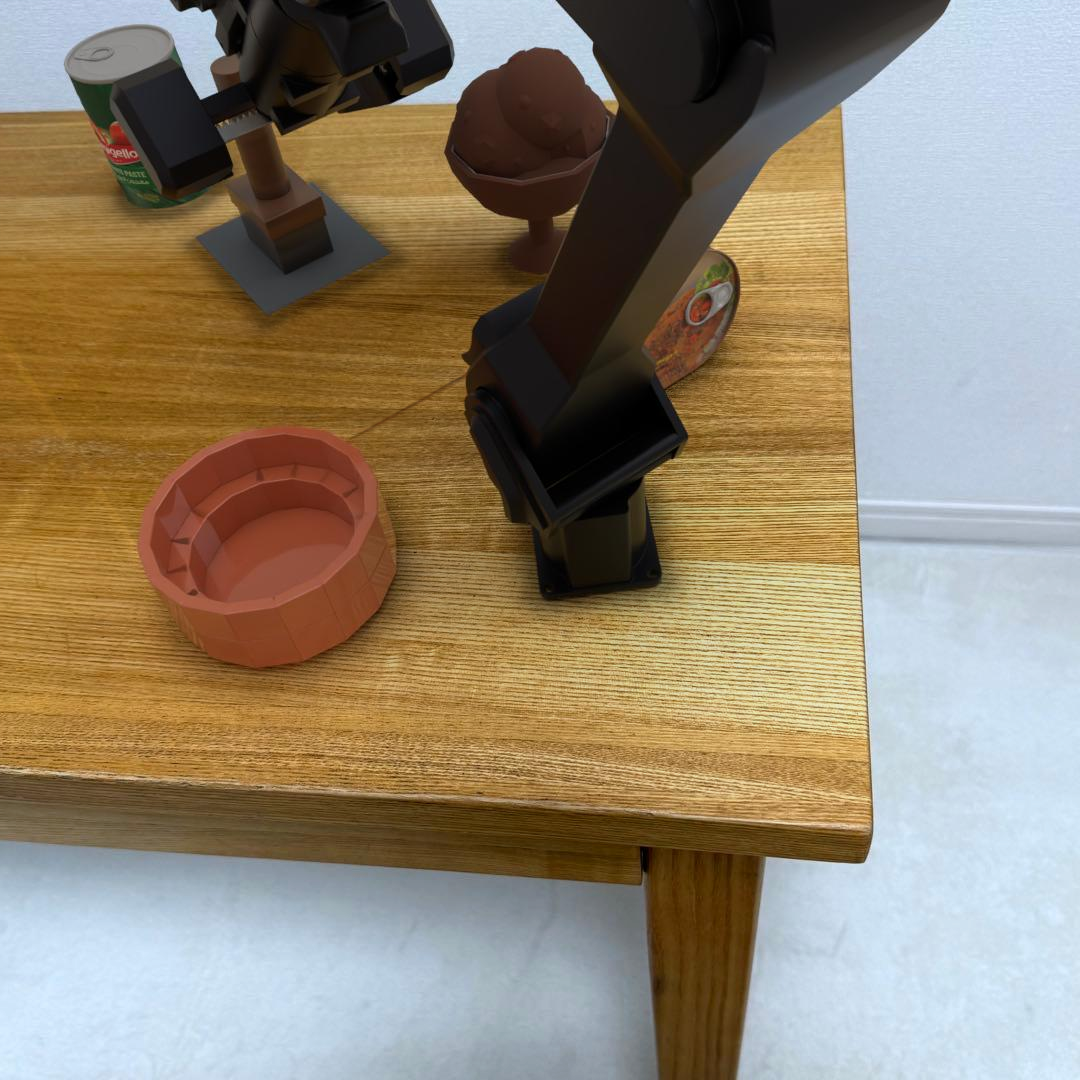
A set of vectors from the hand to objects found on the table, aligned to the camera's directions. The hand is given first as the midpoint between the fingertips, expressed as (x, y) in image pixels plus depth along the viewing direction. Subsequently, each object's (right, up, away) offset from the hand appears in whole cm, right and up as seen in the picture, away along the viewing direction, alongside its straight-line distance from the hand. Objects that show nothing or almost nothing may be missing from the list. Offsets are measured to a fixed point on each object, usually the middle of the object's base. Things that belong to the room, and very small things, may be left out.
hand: (273, 133), depth 68 cm
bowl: (+3, -28, -8) cm, 29 cm away
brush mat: (-1, -4, +11) cm, 12 cm away
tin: (+22, -16, -1) cm, 28 cm away
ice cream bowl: (+17, -6, +8) cm, 20 cm away
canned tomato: (-12, +3, +18) cm, 22 cm away
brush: (-1, -4, +10) cm, 11 cm away
